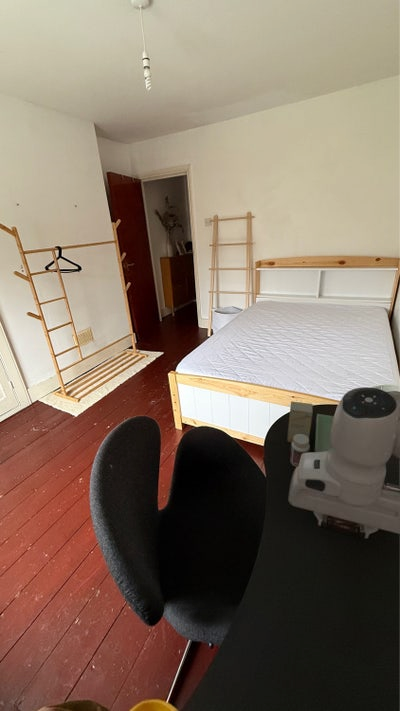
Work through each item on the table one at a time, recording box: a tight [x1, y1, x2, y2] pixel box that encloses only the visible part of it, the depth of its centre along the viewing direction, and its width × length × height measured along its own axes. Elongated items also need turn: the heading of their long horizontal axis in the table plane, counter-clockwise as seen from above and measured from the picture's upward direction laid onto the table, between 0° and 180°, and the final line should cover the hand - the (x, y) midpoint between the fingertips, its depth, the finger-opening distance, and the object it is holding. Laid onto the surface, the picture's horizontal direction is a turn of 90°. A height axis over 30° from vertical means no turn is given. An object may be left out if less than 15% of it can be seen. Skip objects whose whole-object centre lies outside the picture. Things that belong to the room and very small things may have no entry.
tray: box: [314, 413, 334, 452], centre depth 82 cm, size 32×10×3 cm, turn 159°
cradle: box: [319, 525, 353, 537], centre depth 68 cm, size 12×12×7 cm
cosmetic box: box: [286, 400, 314, 443], centre depth 88 cm, size 6×4×12 cm
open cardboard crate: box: [321, 451, 359, 535], centre depth 63 cm, size 17×9×6 cm, turn 159°
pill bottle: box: [289, 434, 311, 468], centre depth 81 cm, size 5×5×8 cm
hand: (341, 528), depth 57 cm, fingers closed on open cardboard crate, 6 cm apart
